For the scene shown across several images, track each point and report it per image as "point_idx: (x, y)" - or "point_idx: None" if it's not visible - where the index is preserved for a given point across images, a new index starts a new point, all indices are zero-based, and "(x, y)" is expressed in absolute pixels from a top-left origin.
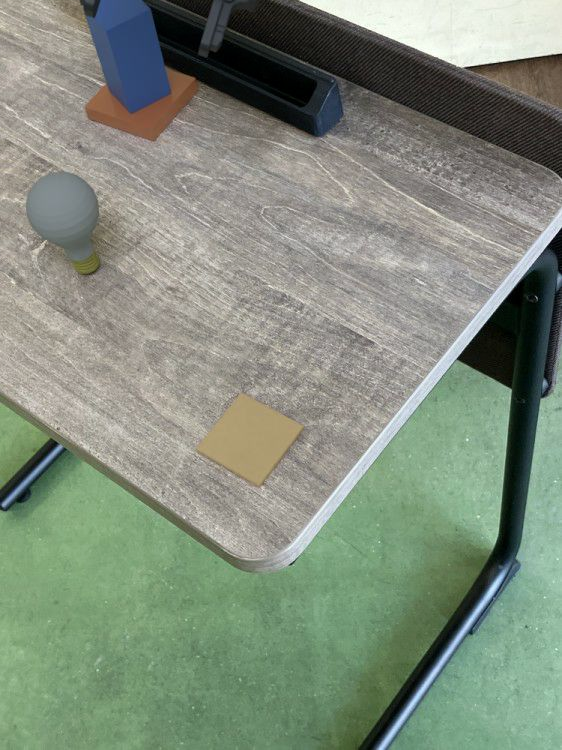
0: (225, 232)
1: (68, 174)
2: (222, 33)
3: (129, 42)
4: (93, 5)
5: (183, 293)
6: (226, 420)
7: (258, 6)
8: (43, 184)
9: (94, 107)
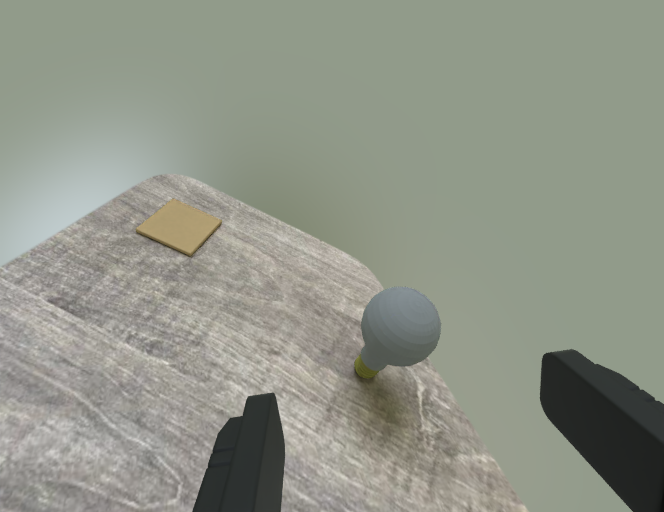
0: None
1: (411, 325)
2: (217, 449)
3: None
4: (550, 352)
5: (261, 348)
6: (201, 235)
7: None
8: (425, 303)
9: None
